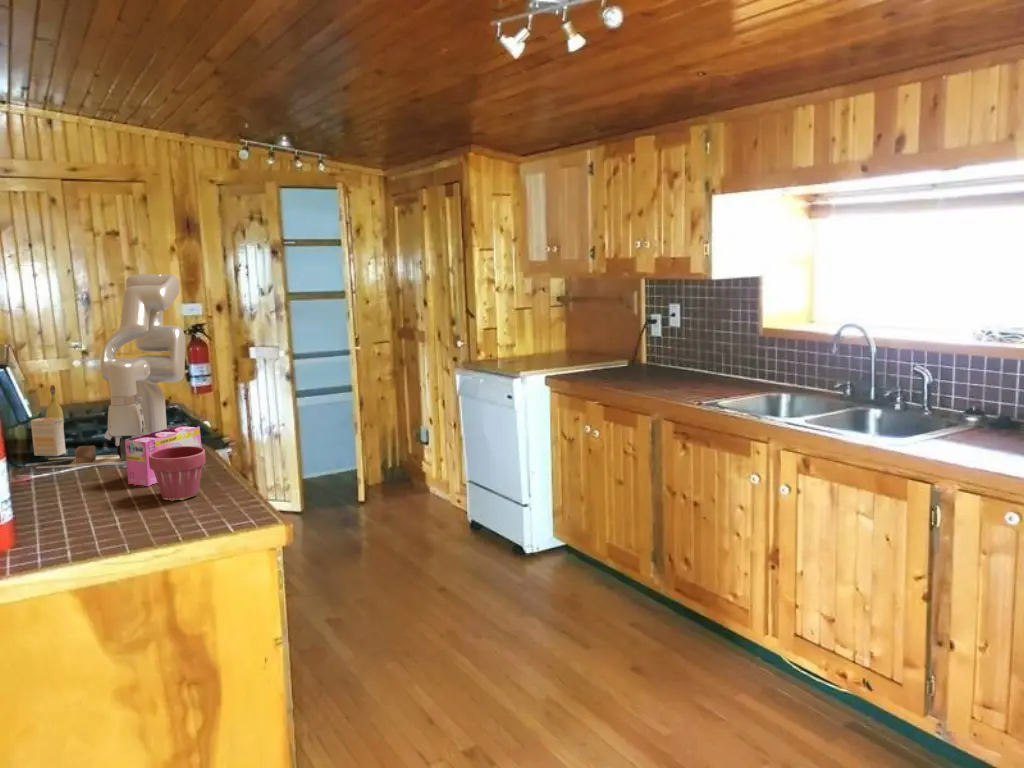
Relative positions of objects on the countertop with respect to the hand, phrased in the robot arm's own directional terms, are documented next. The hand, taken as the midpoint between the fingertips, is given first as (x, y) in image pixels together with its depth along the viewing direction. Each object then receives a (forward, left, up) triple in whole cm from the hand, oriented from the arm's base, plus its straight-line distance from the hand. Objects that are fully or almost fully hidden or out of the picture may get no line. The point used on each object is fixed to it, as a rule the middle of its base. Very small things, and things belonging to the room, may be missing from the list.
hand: (128, 456), depth 254 cm
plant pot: (-23, +42, -2) cm, 48 cm away
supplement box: (+27, -13, -2) cm, 30 cm away
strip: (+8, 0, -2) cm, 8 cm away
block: (+13, 0, -1) cm, 13 cm away
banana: (+32, -32, -2) cm, 45 cm away
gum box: (-15, +19, -3) cm, 24 cm away
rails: (+10, 0, -2) cm, 10 cm away
